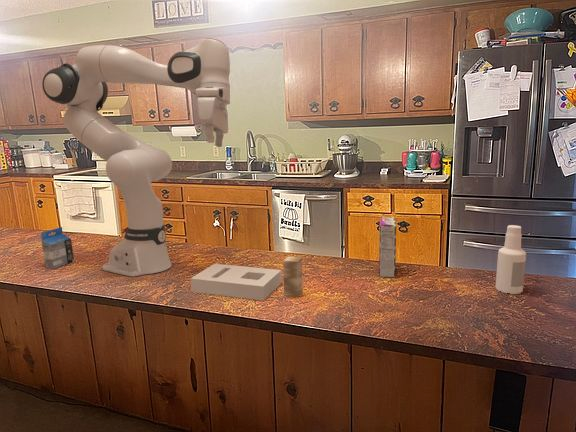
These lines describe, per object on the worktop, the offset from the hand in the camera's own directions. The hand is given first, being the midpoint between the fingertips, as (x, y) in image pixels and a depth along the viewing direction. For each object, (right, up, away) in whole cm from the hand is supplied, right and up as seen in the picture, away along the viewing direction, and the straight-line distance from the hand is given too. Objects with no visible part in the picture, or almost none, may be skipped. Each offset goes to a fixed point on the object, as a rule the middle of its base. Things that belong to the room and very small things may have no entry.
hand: (214, 144), depth 131 cm
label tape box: (-57, -38, +23) cm, 72 cm away
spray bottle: (+82, -41, -6) cm, 92 cm away
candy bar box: (+52, -38, +10) cm, 66 cm away
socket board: (+7, -41, -1) cm, 42 cm away
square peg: (+23, -42, -7) cm, 48 cm away
